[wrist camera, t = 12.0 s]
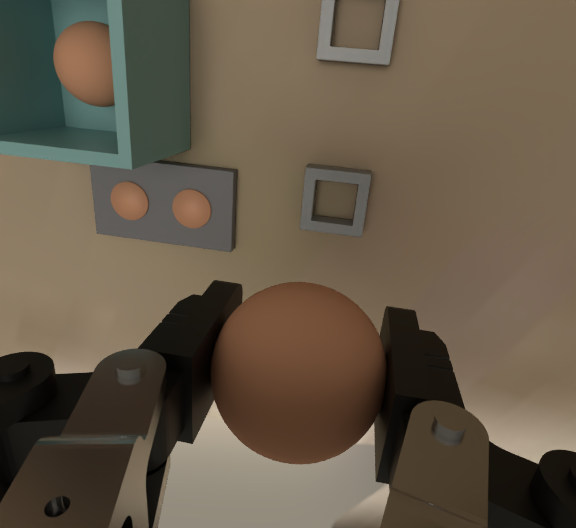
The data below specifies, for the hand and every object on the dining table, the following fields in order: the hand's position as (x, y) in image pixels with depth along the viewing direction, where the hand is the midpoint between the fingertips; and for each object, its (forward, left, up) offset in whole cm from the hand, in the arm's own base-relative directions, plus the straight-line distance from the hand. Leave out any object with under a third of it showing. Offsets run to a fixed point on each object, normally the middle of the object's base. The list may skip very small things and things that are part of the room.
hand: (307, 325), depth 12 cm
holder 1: (0, -9, -15) cm, 17 cm away
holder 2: (0, 0, -15) cm, 15 cm away
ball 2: (0, 0, +2) cm, 2 cm away
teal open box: (+13, -6, -15) cm, 21 cm away
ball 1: (+13, -6, -12) cm, 19 cm away
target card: (+11, +2, -15) cm, 18 cm away
